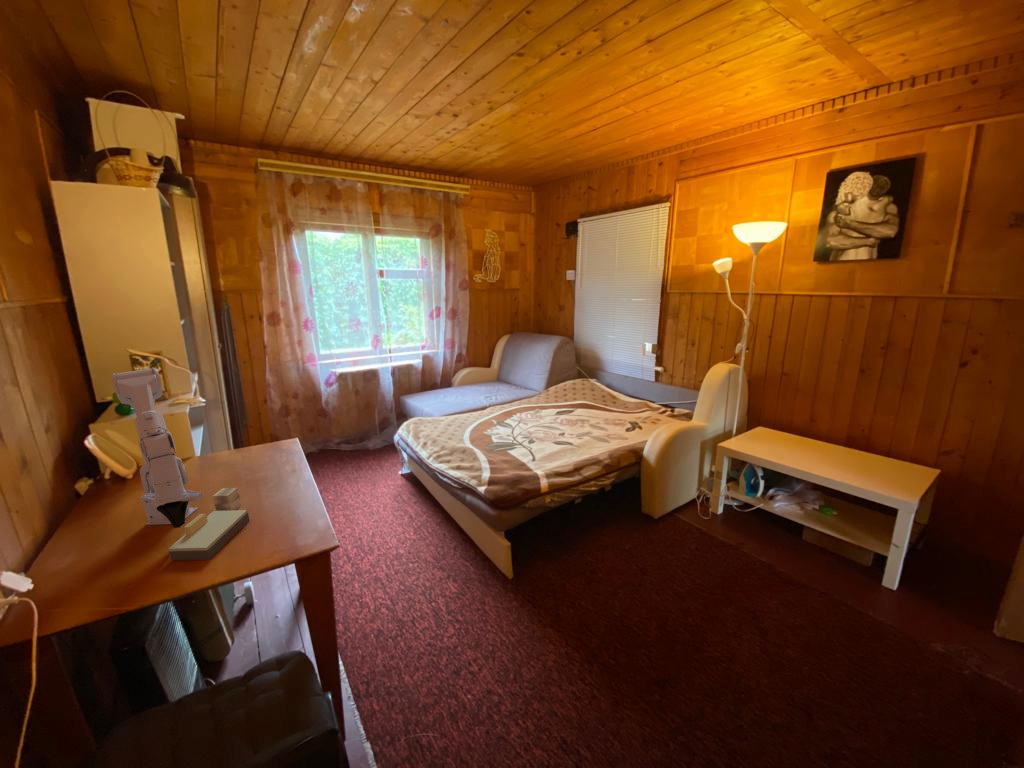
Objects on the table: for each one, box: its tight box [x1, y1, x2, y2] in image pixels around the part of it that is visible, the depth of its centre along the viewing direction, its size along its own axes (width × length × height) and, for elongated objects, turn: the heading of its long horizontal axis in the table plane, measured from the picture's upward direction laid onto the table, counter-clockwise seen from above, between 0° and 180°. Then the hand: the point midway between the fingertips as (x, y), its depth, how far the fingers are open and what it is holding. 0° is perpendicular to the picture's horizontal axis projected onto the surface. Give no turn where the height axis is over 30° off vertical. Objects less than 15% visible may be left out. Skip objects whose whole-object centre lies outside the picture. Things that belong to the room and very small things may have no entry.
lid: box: [167, 509, 249, 552], centre depth 111 cm, size 10×17×3 cm, turn 0°
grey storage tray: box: [168, 513, 251, 561], centre depth 112 cm, size 10×17×2 cm, turn 0°
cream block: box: [212, 487, 242, 511], centre depth 126 cm, size 4×4×6 cm
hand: (179, 525), depth 111 cm, fingers closed
